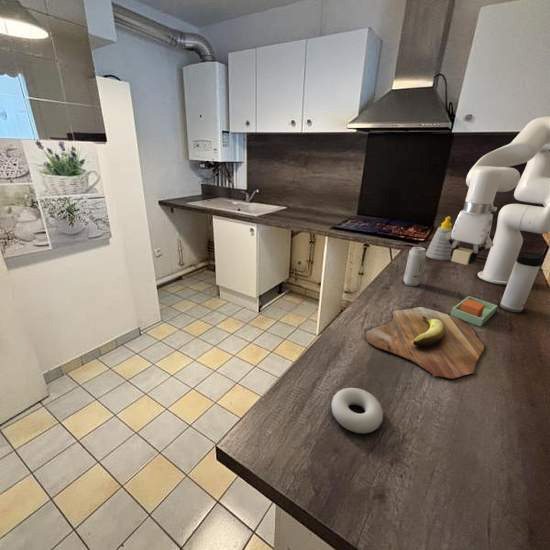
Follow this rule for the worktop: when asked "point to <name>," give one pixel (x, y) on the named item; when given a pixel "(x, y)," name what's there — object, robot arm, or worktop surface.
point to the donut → (354, 420)
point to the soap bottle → (441, 243)
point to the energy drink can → (414, 266)
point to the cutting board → (430, 341)
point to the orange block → (472, 308)
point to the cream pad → (462, 255)
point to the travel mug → (521, 281)
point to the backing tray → (478, 321)
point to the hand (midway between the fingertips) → (462, 260)
